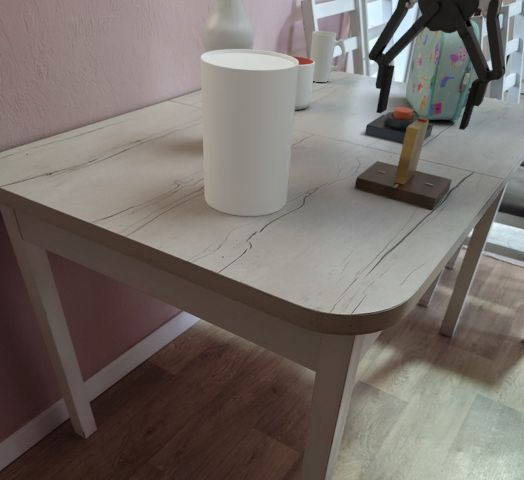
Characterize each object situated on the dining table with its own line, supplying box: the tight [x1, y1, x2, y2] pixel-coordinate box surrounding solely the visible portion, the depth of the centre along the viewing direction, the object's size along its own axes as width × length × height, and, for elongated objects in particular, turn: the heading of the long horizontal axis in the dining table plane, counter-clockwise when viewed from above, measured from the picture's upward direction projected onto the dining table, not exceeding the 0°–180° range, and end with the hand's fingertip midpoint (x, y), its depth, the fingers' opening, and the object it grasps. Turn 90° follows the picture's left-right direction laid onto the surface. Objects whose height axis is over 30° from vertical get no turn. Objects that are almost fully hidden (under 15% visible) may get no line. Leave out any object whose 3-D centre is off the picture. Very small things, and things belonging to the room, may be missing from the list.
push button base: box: [364, 111, 434, 145], centre depth 108 cm, size 12×10×4 cm
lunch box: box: [405, 19, 481, 122], centre depth 118 cm, size 27×10×21 cm, turn 179°
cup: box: [290, 55, 315, 111], centre depth 120 cm, size 10×10×10 cm
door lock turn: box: [394, 116, 430, 185], centre depth 82 cm, size 6×2×9 cm, turn 149°
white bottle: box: [202, 0, 255, 53], centre depth 89 cm, size 9×9×28 cm
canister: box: [200, 49, 299, 217], centre depth 74 cm, size 14×14×20 cm
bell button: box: [393, 106, 414, 120], centre depth 106 cm, size 4×4×2 cm
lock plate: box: [354, 160, 453, 211], centre depth 85 cm, size 14×10×2 cm
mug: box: [309, 30, 346, 83], centre depth 140 cm, size 10×7×12 cm, turn 77°
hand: (421, 119), depth 78 cm, fingers open, 13 cm apart
